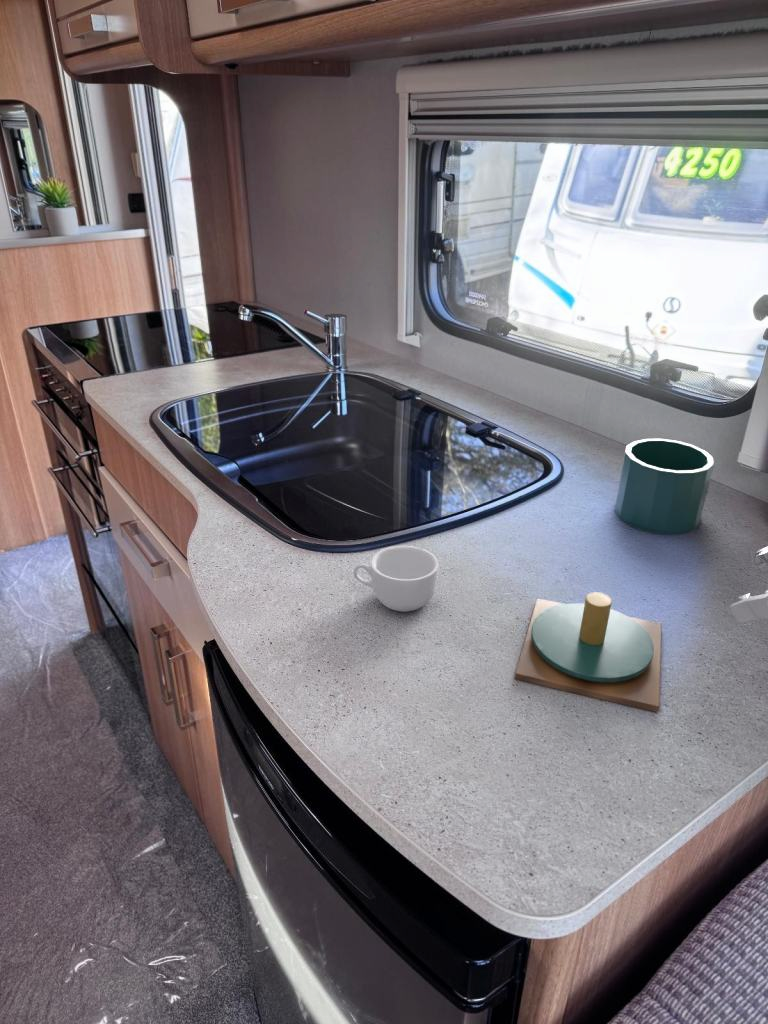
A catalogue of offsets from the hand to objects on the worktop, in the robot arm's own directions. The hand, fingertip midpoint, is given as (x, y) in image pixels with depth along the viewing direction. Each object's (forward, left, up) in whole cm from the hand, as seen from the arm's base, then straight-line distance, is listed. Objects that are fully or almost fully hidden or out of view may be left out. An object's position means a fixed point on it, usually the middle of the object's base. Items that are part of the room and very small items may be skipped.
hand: (747, 586), depth 65 cm
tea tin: (+6, -38, -14) cm, 41 cm away
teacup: (+35, -6, -14) cm, 38 cm away
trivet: (+12, -4, -14) cm, 19 cm away
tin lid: (+12, -4, -12) cm, 18 cm away
